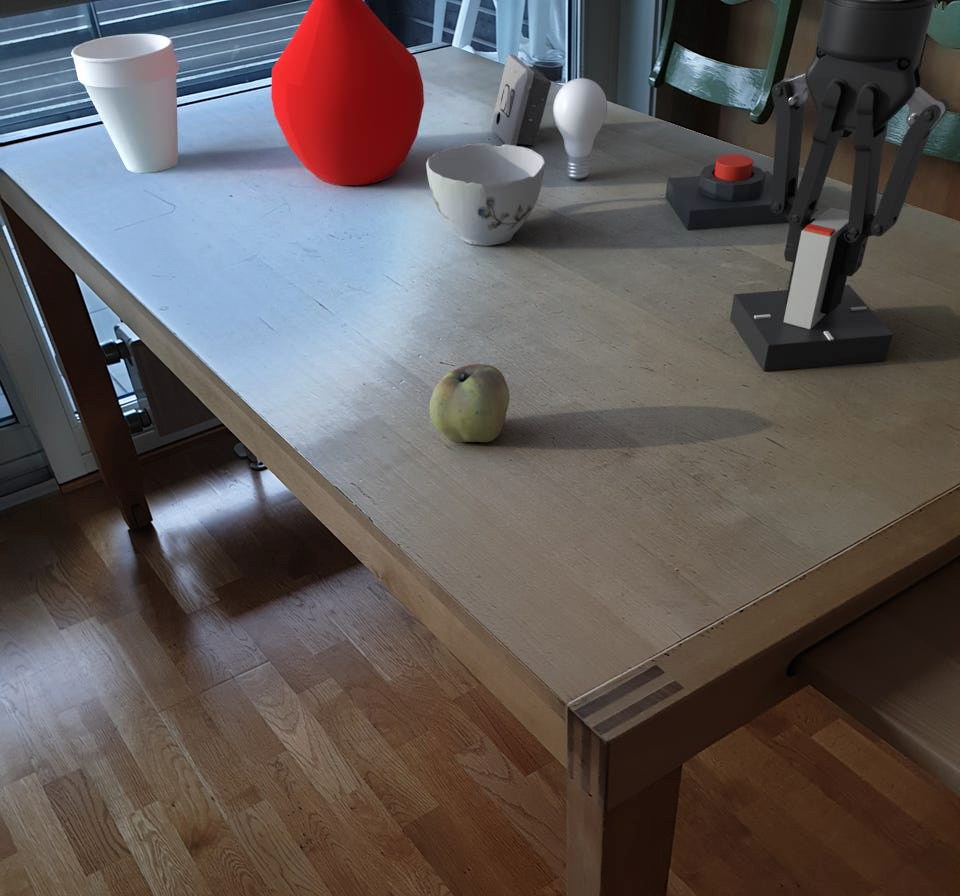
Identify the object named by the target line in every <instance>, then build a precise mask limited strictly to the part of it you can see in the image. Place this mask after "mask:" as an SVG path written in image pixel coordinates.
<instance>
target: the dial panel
mask: <svg viewBox="0 0 960 896" xmlns="http://www.w3.org/2000/svg"><path fill="white" fill-rule="evenodd" d="M787 290H788V289H781V290H780V289H779V290H769V291H768V290H767V291H757V292H744V293H734V294H733V298H732V304H731V311H730V317H729V320H730V321H731V323H732V324H733V326H734V328H735V329H736V331H737V332H738V334H739V336H740V337H741V338H742V340H743V342H744V343H745V345H746V347H747V348H748V349H749V352H750V353H751V354H752V356H753V357H754V359H755V360H756V362H757V363H758V365H759V367H760V369H761V370H762V372H771V371H782V370H783V371H785V370H794V369H795V370H796V369H807V368H817V367H818V368H819V367H830V366H843V365H853V364H866V363H876V362H885V361H886V360H887V357H888V354H889V349H890V346H891V342H892V339H893V333H892V332H891V331H890V330H889V329H888V327H887V326H886V325H885V324H884V323H883V322H882V321H881V320H880V319H879V317H878V316H877V315H876V314H875V313H874V311H872V309H871V308H870V307H869V306H868V305H867V304H866V302H865V301H864V300H863V299H862V298H861V297H860V296H859V294H858V293H857V292H856V291H855V290H854V289H853V288H852V286H850V285H849V284H845V288H844V292H843V296H842V300H841V303H840V304H839V305H838V306H837V307H836V308H835V309H834V310H833V311H832V312H831V313H829V314H828V315H827V314H826V315H825V316H824V317H823V318H822V319H821V320H819V321H818V322H817V323H816V324H815V325H814V326H813V327H812V328H811V329H806V328H803V327H799V326H795V325H792V324H788V323H784V317H785V312H786V307H787V303H785V300H786V295H787Z"/></svg>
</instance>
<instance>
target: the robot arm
mask: <svg viewBox="0 0 960 896" xmlns="http://www.w3.org/2000/svg"><path fill="white" fill-rule="evenodd" d="M935 1H936V0H824V2H823V7H822V13H821V17H820V23H819V29H818V33H817V35H818V36H817V39H816V49H815V50H816V51H815V54H814V56H813V58H812V60H811V61H810V63H809V64H808V66H807V68H806V71H805V72H804V73H801V74H799V75H796V76H795V75H790V76H788V77H786V78H784V79H782V80H781V81H779V82H777V83H775V84H774V85H773V87H772V88H771V97H772V101H773V106H774V109H775V114H776V124H775V125H776V127H775V139H774V151H773V152H774V155H773V167H772V176H773V179H772V193H771V210H772V212H773V213H775V214H782V215H783V216H784V217H786V218H787V219H788V221H789V223H788V224H789V226H788V231H787V237H786V243H785V247H784V253H783V256H784V261H785V262H791V263H792V265H791V270H790V275H789V280H788V281H789V282H788V286H787V289H786V290H787V295H786V300H785V303H787V302H788V297H789V292H790V287H791V282H792V277H793V272H794V267H795V262H796V257H797V252H798V247H799V242H800V237H801V232H802V230H804V229H805V227H806V226H807V225H809V224H811V223H812V222H813V221H815V220H816V219H817V218H812V217H813V215H815V214H816V213H817V212H818V210H819V208H817V205H818V203H819V200H820V197H821V193H822V191H823V188H824V186H825V185H824V184H825V182H826V180H827V179H826V178H827V176H828V174H829V173H828V172H829V169H830V167H831V164H832V161H833V158H834V155H835V152H836V148H837V146H838V144H839V143H838V142H839V140H840V138H841V135H842V134H843V132H844V131H848V132H850V133H852V134H854V143H853V144H854V145H853V147H854V150H855V155H854V165H853V175H852V183H851V184H852V185H851V195H850V203H849V222H848V229H847V230H845V231H844V232H843V233H842V234H841V235H839V236H838V237H837V240H836V244H835V249H834V253H833V257H832V262H831V266H830V271H829V275H828V280H827V284H826V288H825V293H824V297H823V302H822V306H821V311H820V313H824V314H827V315H828V314H829V313H831V312H832V311H833V310H834V309H835V308H836V307H837V306H838V305H839V304H840V303H841V300H842V296H843V292H844V288H845V285H846V282H847V278H848V277H853V276H854V275H855V274H856V273H857V272H858V271H859V269H861V267H862V264H863V261H864V255H865V252H866V248H867V245H868V240H869V237H872V236H875V237H877V238H879V237H882V236H883V235H885V233H887V232H888V231H889V230H890V229H892V227H894V226H895V225H896V224H897V222H898V219H899V217H900V214H901V211H902V209H903V206H904V204H905V201H906V198H907V195H908V193H909V190H910V188H911V185H912V183H913V179H914V177H915V174H916V172H917V169H918V167H919V164H920V161H921V159H922V157H923V154H924V151H925V148H926V146H927V142H928V141H929V138H930V136H931V133H932V132H933V130H934V129H935V127H936V126H937V125H938V124H939V123H940V121H941V120H942V119H943V117H944V116H946V114H947V112H948V111H949V109H950V108H949V106H950V105H949V102H948V100H947V99H945V98H938V99H935V98H934V97H932V96H931V95H930V94H929V93H928V92H927V91H925V90H924V89H923V88H922V87H921V84H922V77H921V73H920V60H921V56H922V52H923V49H924V46H925V41H926V38H927V37H926V36H927V32H928V29H929V25H930V21H931V18H932V14H933V13H932V12H933V8H934V5H935ZM808 93H809V94H810V97H811V99H812V101H813V105H814V107H815V110H816V112H817V114H818V117H817V121H816V123H815V127H814V130H813V133H812V142H811V146H810V150H809V153H808V156H807V160H806V163H805V166H804V168H803V171H802V175H801V178H800V182H799V172H800V163H801V162H800V161H801V151H802V141H803V130H804V129H803V128H804V118H805V103H806V102H807V100H808ZM906 104H907V105H908V113H907V116H906V124H907V125H908V126H909V128H908V129H907V131H906V133H905V134H904V136H903V138H902V141H901V143H900V146H899V149H898V152H897V154H896V157H895V160H894V163H893V166H892V168H891V170H890V173H889V176H888V179H887V182H886V184H885V187H884V190H883V192H882V195H881V198H880V201H879V203H878V207H877V206H876V205H877V199H878V189H879V181H880V174H881V173H880V172H881V166H882V165H881V164H882V156H883V149H884V142H885V140H886V137H887V133H888V126H889V121H891V120H892V118H894V117H895V115H897V114H898V113H899V112H900V111H901V110H902V109H903V108H904V106H906ZM798 184H799V185H798ZM876 207H877V209H876Z"/></svg>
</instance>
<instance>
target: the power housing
mask: <svg viewBox="0 0 960 896" xmlns="http://www.w3.org/2000/svg"><path fill="white" fill-rule="evenodd" d="M715 166H716V163H713V164H710V165H707V166H704V167H703V169H702V170H701V171H700V173H699V175H695V176H683V177H681V176H680V177H668V178H667V179H666V188H665V199H666V200H667V202H668V204H669V205H670V206H671V208H672V210H673V211H674V213H675V214H676V216H677V217H678V218H679V220H680V221H681V223H682V225H683V226H684V227H685V229H686V230H687V232H689V231H701V230H712V229H713V230H714V229H727V228H737V227H750V226H763V225H777V224H789V221H788V219H787V218H786V217H784V216H783V215H782V214H775V213H773V212H772V210H771V193H772V179H773V173H771V172H770V171H769V170H764V171H763V169H762V168H761V167H758V166H755V165H753V166H752V173H751V178H749V179H746V180H739V181H730V180H722V179H719V178H716V177H714V174H715Z"/></svg>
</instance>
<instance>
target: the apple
mask: <svg viewBox="0 0 960 896" xmlns="http://www.w3.org/2000/svg"><path fill="white" fill-rule="evenodd" d="M510 398H511V397H510V390H509V386H508V383H507V381H506V378H505V376H504V375H503V373H502V372H501V371H500V370H499V369H498V368H497V367H495V366H493V365H490V364H486V363H477V364H467V365H463V366H460V367H457V368H455V369H453V370H450V371H449V372H447V373H446V374H444V376H443V377H442V379H441V380H440V381H439V382H438V384H437V385H436V386H435V388H434V389H433V392H432V394H431V396H430V399H429V408H428V409H429V410H428V411H429V416H430V420H431V422H432V424H433V425H434V426H433V427H435V429H437V431H438V432H439V433H440V434H441V435H442V436H443V437H445V439H446V440H448V441H450V442H453V443H467V442H470V443H471V442H473V443H474V442H479V443H489V442H492V441H494V440H495V439H496V438H497V437H499V435H500V433H501V432H502V430H503V427H504V425H505V423H506V418H507V412H508V409H509V405H510V400H511V399H510Z"/></svg>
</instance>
